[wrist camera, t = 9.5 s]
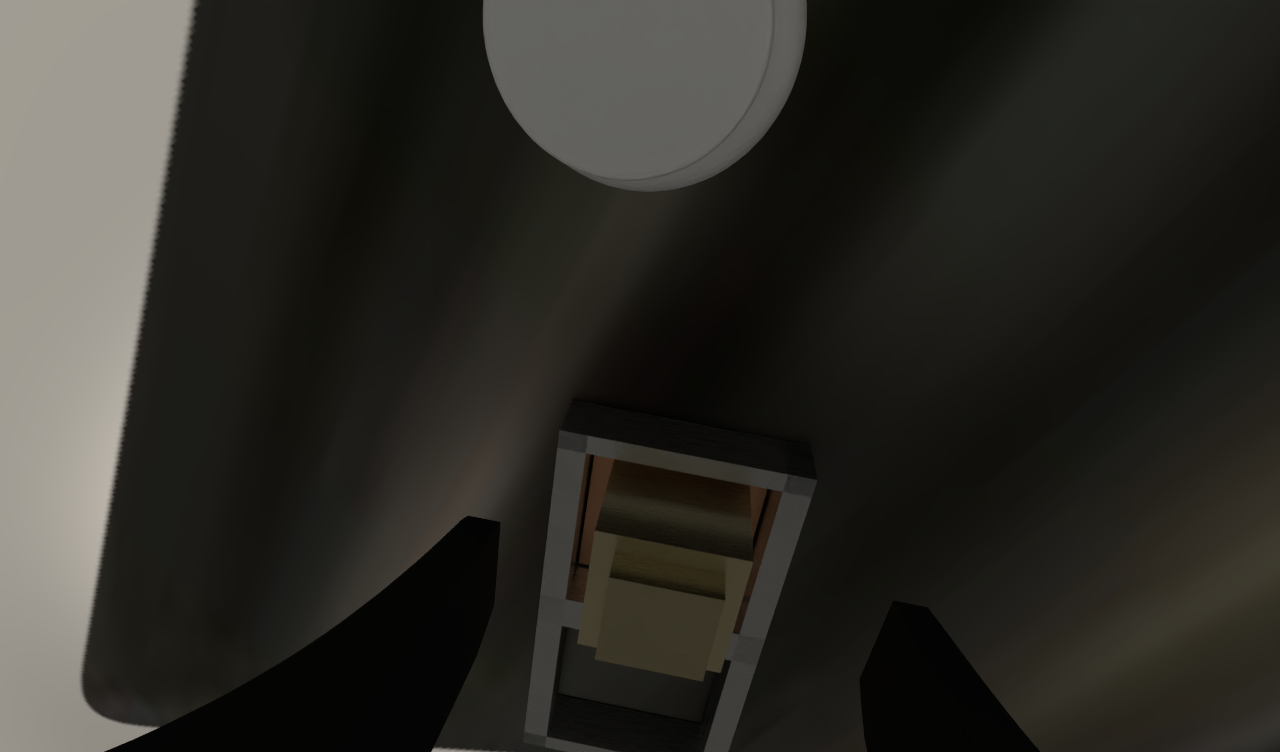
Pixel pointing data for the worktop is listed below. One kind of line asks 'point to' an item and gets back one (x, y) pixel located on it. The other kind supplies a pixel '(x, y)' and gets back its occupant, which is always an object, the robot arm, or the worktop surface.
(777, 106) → the pill bottle
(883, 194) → the worktop surface
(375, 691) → the robot arm
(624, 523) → the block
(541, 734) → the grey flat frame
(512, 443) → the worktop surface
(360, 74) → the worktop surface
